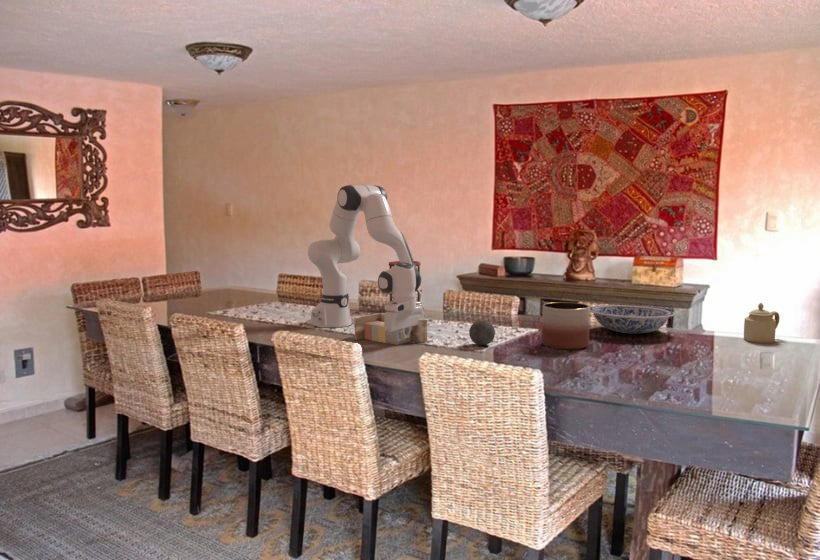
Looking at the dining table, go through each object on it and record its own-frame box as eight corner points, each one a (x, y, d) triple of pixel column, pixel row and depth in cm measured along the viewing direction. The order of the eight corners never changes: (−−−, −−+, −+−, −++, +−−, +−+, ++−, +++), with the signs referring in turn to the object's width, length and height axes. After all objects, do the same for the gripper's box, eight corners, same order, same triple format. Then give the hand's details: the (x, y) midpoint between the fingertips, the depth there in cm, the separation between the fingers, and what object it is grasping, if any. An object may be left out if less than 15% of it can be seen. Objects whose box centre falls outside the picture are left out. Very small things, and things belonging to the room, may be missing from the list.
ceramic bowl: (686, 331, 279) (687, 308, 278) (652, 345, 254) (653, 319, 253) (610, 322, 303) (611, 300, 301) (572, 333, 278) (573, 310, 277)
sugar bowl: (749, 334, 273) (751, 298, 271) (779, 337, 266) (781, 301, 264) (740, 340, 261) (742, 303, 259) (771, 344, 254) (774, 305, 252)
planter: (562, 352, 244) (563, 310, 242) (532, 343, 259) (532, 304, 258) (598, 347, 252) (599, 306, 250) (567, 339, 268) (568, 300, 266)
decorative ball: (464, 343, 260) (464, 318, 259) (486, 341, 264) (487, 316, 263) (477, 349, 251) (477, 323, 250) (499, 346, 255) (500, 321, 254)
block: (385, 342, 263) (385, 330, 263) (399, 339, 269) (399, 327, 268) (397, 344, 259) (396, 332, 259) (410, 341, 265) (410, 329, 264)
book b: (371, 340, 268) (371, 324, 268) (385, 337, 274) (385, 321, 274) (378, 341, 266) (378, 325, 265) (392, 338, 272) (392, 322, 271)
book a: (364, 339, 271) (364, 323, 270) (378, 335, 277) (378, 320, 276) (371, 340, 269) (371, 324, 268) (385, 337, 274) (384, 321, 274)
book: (378, 341, 266) (378, 325, 265) (392, 338, 272) (391, 322, 271) (385, 342, 263) (385, 326, 262) (399, 339, 269) (398, 323, 268)
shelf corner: (354, 339, 270) (354, 317, 269) (380, 333, 281) (380, 312, 280) (401, 348, 253) (401, 325, 251) (427, 342, 264) (427, 319, 263)
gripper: (416, 300, 269) (416, 333, 271) (381, 306, 254) (381, 341, 256) (428, 301, 265) (428, 335, 267) (393, 308, 250) (393, 344, 252)
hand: (405, 338), depth 261 cm, fingers closed, pressing on block
